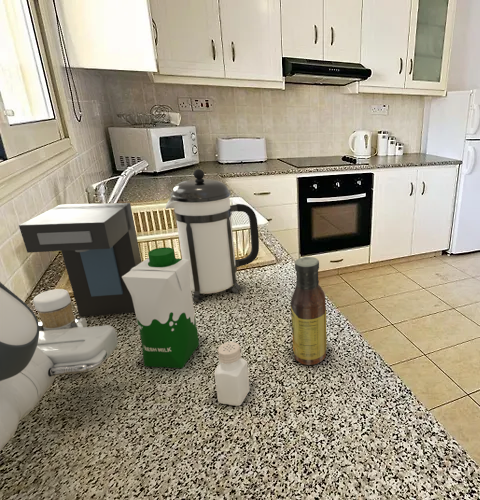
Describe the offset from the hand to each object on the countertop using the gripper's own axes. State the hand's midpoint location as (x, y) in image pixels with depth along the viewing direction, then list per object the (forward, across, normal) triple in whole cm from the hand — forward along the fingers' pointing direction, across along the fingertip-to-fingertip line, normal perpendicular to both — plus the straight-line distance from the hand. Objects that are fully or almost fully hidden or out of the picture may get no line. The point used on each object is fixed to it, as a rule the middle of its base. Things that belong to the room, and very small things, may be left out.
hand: (62, 323), depth 63 cm
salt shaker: (-13, -28, +9) cm, 32 cm away
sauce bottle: (-5, -41, +9) cm, 42 cm away
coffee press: (+27, -21, +9) cm, 36 cm away
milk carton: (0, -16, +9) cm, 18 cm away
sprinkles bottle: (-1, 0, +8) cm, 8 cm away
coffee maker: (+15, 0, +9) cm, 17 cm away
